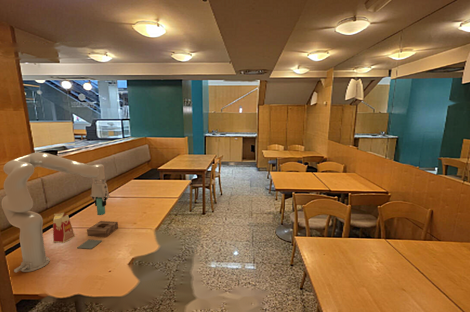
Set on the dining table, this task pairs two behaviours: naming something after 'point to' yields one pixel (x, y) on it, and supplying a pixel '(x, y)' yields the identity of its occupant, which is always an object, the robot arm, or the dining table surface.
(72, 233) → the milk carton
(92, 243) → the mat
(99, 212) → the peg
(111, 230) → the pocket block
